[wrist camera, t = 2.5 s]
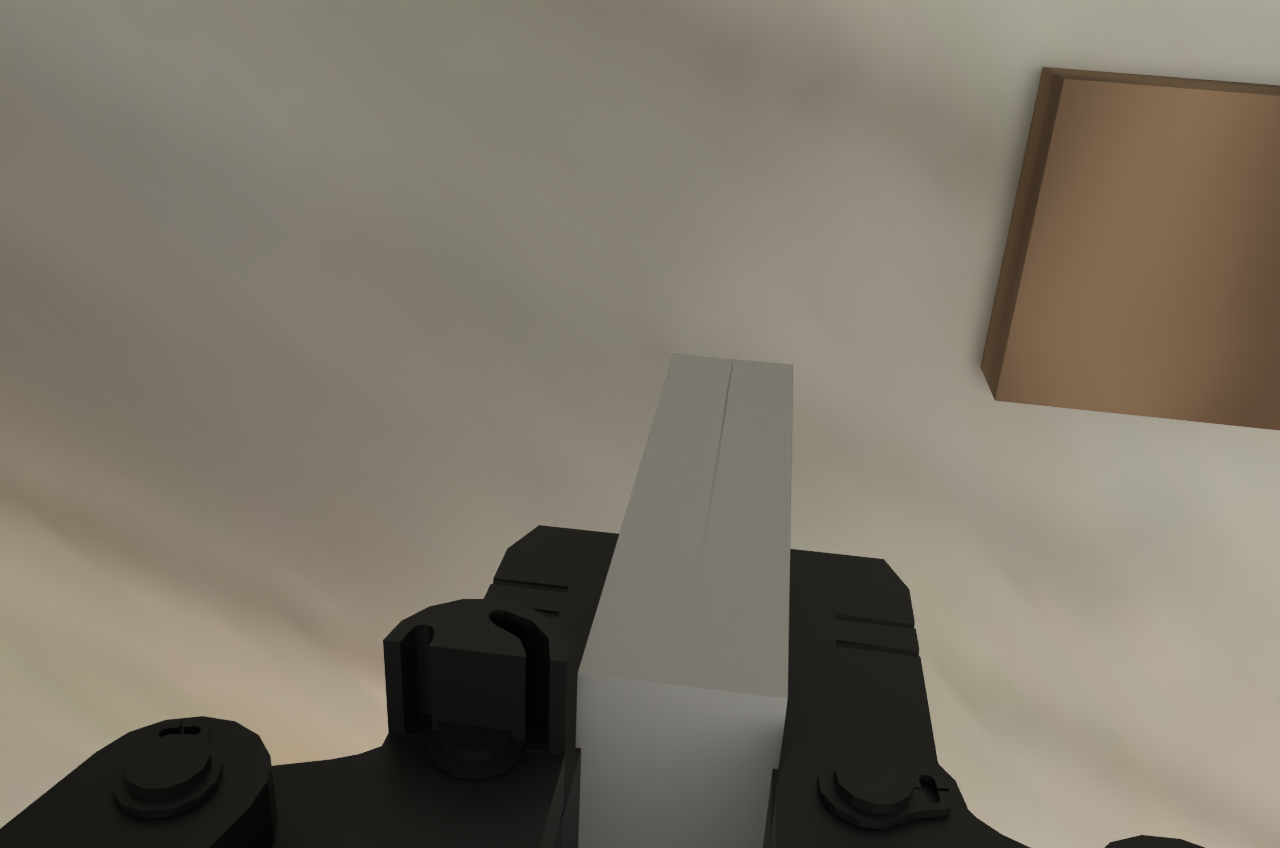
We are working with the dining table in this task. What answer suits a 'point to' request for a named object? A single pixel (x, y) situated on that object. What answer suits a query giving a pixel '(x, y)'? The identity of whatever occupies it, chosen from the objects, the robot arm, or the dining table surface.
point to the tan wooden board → (1144, 252)
